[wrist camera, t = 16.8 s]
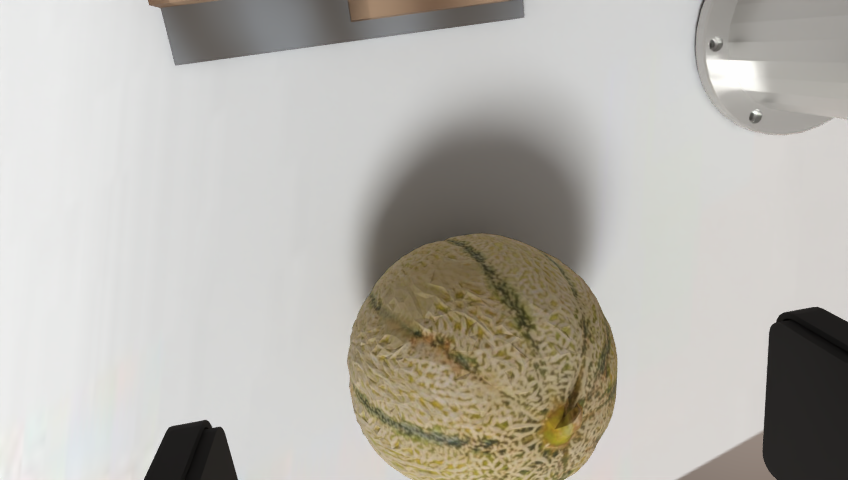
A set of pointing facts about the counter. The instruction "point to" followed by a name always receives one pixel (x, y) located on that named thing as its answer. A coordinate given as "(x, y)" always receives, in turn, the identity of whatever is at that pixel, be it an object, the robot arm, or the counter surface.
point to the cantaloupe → (482, 363)
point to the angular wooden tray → (310, 22)
